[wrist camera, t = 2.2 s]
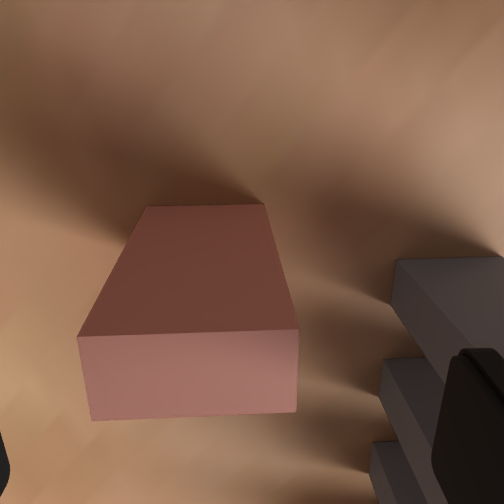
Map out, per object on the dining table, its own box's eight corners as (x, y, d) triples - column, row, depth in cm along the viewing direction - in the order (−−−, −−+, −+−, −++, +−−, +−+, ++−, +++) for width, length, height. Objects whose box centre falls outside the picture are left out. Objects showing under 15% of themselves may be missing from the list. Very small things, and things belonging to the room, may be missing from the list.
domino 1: (263, 255, 21) (296, 412, 11) (151, 258, 20) (91, 421, 11) (263, 203, 20) (299, 329, 10) (146, 206, 19) (76, 336, 10)
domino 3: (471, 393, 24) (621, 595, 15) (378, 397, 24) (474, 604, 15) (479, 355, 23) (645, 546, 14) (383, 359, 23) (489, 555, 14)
